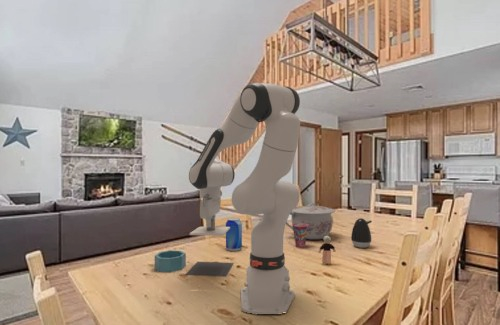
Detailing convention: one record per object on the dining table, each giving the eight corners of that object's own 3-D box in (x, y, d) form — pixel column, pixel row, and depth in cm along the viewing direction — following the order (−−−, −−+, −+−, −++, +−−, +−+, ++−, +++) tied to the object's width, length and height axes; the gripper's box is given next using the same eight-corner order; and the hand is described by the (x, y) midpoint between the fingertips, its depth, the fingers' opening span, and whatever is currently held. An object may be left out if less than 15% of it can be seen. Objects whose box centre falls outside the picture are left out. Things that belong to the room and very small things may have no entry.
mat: (226, 277, 125) (226, 276, 125) (184, 276, 127) (184, 274, 127) (234, 264, 142) (234, 262, 142) (197, 262, 144) (197, 261, 144)
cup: (301, 249, 164) (301, 226, 164) (289, 246, 170) (289, 224, 170) (312, 246, 170) (312, 224, 170) (300, 243, 176) (300, 222, 176)
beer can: (222, 250, 164) (222, 219, 164) (231, 246, 171) (231, 217, 171) (236, 252, 160) (236, 220, 160) (244, 248, 168) (244, 218, 168)
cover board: (223, 235, 126) (223, 222, 127) (189, 235, 128) (189, 222, 128) (230, 228, 140) (229, 216, 140) (199, 228, 142) (199, 216, 142)
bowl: (178, 273, 130) (178, 259, 130) (150, 272, 132) (150, 258, 132) (188, 264, 142) (188, 250, 142) (162, 263, 144) (162, 250, 144)
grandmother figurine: (321, 266, 138) (321, 237, 138) (317, 263, 142) (317, 235, 142) (337, 264, 140) (337, 236, 140) (333, 262, 144) (332, 234, 144)
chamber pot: (341, 235, 196) (340, 201, 195) (327, 245, 172) (327, 207, 172) (298, 230, 210) (298, 199, 210) (281, 239, 186) (280, 204, 186)
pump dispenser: (372, 250, 162) (372, 220, 162) (351, 248, 165) (350, 219, 165) (371, 245, 172) (371, 217, 172) (351, 243, 175) (351, 216, 175)
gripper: (211, 195, 124) (211, 231, 124) (222, 191, 144) (223, 221, 144) (195, 195, 125) (196, 230, 125) (209, 191, 145) (209, 221, 145)
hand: (210, 226), depth 134 cm, fingers closed on cover board, 4 cm apart
